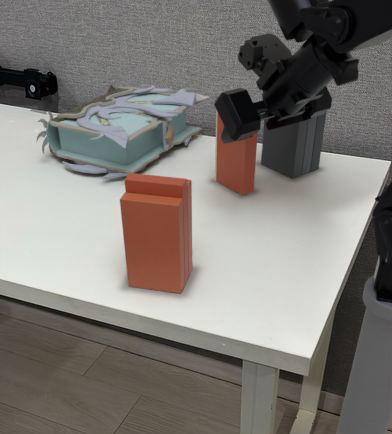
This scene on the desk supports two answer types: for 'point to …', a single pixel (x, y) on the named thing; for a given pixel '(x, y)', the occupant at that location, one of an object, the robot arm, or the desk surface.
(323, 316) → the desk surface
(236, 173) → the terracotta book
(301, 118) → the robot arm
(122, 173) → the ornate book
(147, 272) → the terracotta books
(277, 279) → the desk surface
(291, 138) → the grey books
